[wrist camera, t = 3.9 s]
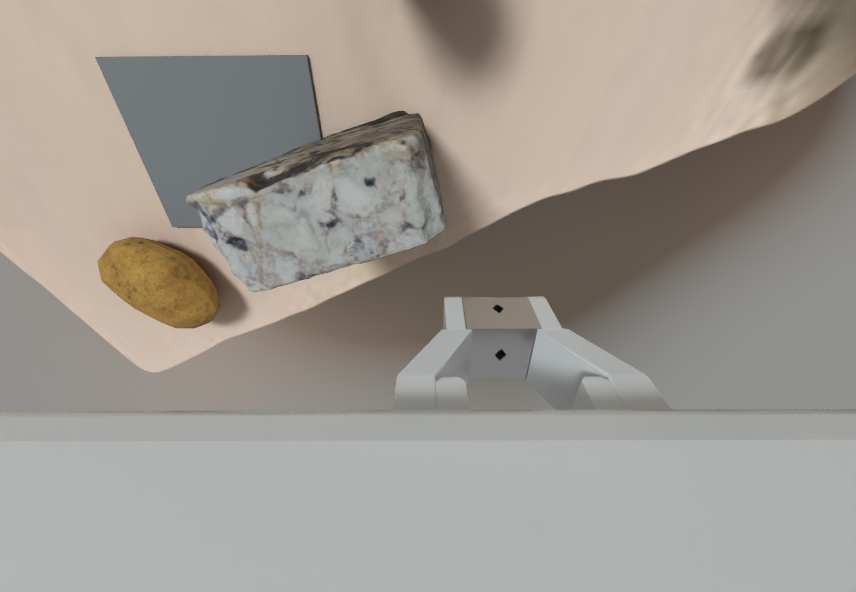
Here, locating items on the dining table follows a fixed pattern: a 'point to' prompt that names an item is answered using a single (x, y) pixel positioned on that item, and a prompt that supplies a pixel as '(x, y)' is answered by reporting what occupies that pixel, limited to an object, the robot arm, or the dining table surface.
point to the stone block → (326, 204)
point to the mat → (210, 117)
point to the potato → (159, 282)
